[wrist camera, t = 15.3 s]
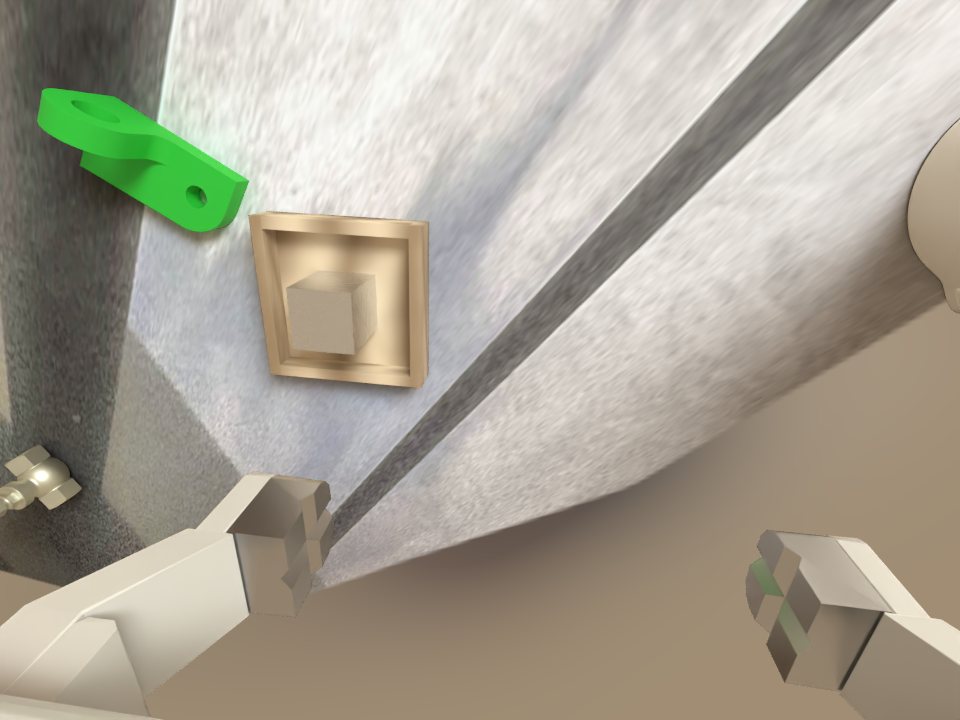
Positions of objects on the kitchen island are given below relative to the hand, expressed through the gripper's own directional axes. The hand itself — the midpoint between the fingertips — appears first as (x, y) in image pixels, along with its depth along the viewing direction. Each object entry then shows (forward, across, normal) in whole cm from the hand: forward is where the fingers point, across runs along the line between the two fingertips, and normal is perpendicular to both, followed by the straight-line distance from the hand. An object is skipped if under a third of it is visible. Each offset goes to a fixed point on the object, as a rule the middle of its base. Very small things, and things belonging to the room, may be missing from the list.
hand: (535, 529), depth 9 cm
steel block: (+32, +16, +6) cm, 36 cm away
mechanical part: (+34, +31, -4) cm, 46 cm away
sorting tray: (+33, +16, +6) cm, 37 cm away
